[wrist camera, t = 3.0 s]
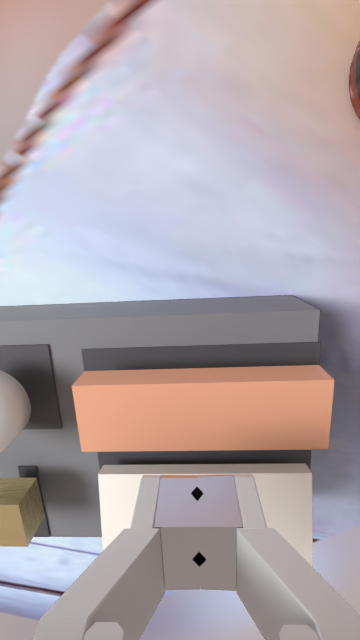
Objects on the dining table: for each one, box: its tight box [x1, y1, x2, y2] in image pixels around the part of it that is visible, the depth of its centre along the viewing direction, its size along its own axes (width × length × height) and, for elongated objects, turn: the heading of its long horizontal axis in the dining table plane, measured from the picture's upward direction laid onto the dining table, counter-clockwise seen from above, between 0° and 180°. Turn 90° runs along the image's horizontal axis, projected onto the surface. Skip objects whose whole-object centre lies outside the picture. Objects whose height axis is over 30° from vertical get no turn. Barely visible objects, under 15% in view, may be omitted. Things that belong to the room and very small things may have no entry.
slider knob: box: [0, 477, 44, 547], centre depth 15 cm, size 2×2×2 cm
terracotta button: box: [72, 365, 334, 452], centre depth 12 cm, size 10×3×1 cm, turn 93°
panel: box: [0, 295, 321, 537], centre depth 17 cm, size 18×13×4 cm
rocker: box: [98, 463, 313, 567], centre depth 15 cm, size 10×5×1 cm, turn 93°
